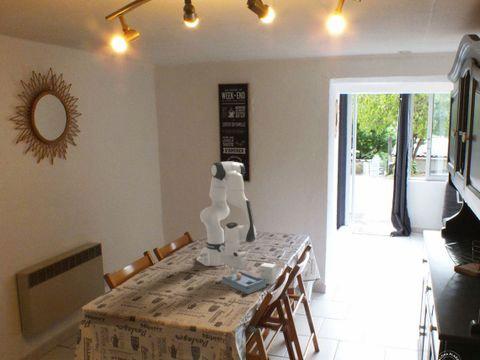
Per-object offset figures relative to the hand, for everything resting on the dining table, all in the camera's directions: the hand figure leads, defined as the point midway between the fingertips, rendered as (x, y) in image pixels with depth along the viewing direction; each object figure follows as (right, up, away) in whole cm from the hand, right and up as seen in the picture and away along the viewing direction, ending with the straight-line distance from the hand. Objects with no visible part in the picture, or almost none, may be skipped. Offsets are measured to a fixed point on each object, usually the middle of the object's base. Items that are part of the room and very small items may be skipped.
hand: (233, 273), depth 250 cm
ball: (+3, -1, -5) cm, 6 cm away
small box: (+21, -5, -4) cm, 21 cm away
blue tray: (+6, -5, -7) cm, 11 cm away
